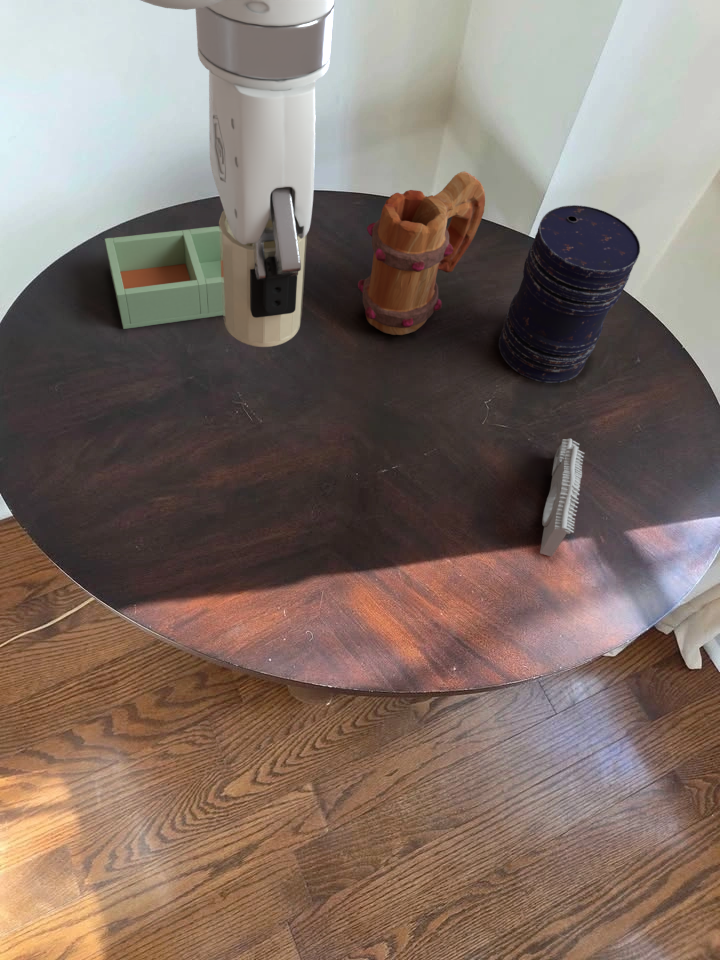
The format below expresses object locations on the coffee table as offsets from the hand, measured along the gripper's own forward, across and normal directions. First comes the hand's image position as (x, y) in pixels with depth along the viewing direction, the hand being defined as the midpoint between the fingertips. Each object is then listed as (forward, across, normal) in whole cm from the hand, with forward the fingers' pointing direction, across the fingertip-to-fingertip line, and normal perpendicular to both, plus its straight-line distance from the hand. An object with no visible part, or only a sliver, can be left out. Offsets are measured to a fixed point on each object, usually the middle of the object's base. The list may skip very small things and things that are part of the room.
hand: (262, 279), depth 58 cm
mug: (+20, -15, +20) cm, 32 cm away
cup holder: (+20, -22, -2) cm, 29 cm away
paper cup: (+4, 0, 0) cm, 4 cm away
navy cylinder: (+20, -6, +33) cm, 39 cm away
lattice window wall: (+20, +13, +25) cm, 34 cm away
